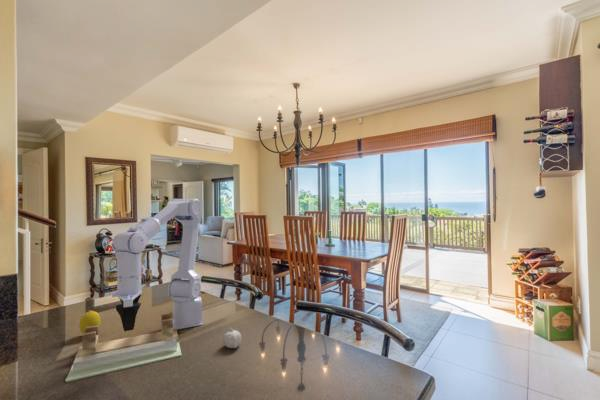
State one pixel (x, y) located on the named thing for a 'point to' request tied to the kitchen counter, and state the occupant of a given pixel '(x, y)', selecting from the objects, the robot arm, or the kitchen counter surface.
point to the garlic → (232, 338)
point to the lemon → (89, 320)
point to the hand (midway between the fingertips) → (129, 324)
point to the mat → (122, 365)
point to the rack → (124, 339)
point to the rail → (123, 355)
